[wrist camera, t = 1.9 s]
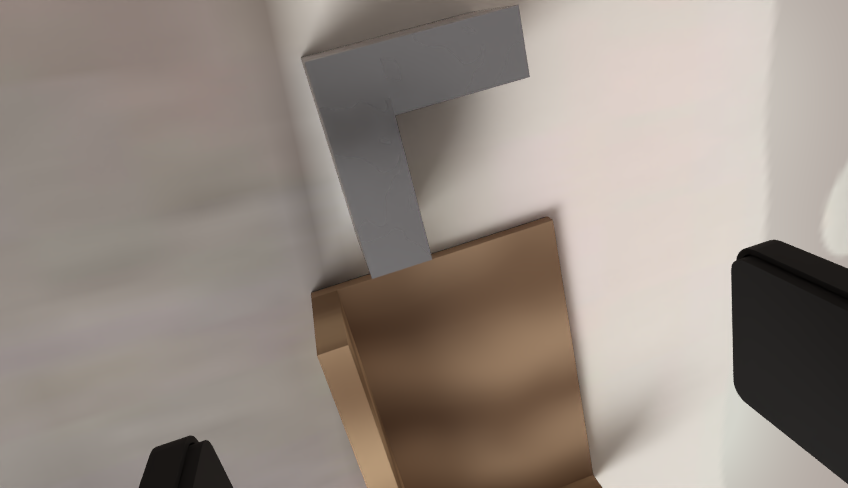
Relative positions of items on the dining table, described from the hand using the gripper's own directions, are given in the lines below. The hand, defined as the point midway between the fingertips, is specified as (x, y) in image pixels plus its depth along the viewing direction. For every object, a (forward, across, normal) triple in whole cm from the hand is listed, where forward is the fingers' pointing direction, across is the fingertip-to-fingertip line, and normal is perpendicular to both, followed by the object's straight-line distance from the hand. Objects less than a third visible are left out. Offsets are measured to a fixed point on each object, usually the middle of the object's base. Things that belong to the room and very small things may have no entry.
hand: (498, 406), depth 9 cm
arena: (+17, -2, +13) cm, 21 cm away
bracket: (+17, -2, -2) cm, 17 cm away
